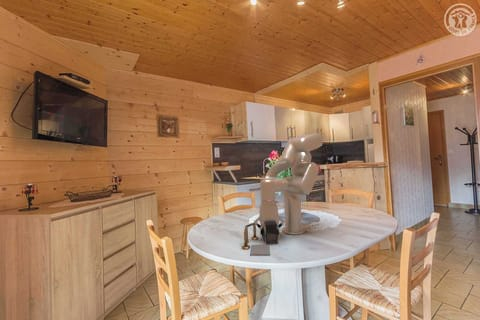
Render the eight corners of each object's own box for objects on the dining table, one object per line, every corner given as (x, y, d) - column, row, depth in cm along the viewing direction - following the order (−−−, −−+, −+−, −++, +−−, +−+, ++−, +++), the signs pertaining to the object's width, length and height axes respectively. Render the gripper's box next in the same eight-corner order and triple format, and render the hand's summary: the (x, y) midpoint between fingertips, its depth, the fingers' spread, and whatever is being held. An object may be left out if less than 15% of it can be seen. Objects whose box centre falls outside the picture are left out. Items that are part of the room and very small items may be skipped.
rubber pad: (269, 245, 113) (269, 244, 113) (270, 255, 102) (270, 254, 102) (251, 245, 114) (251, 244, 114) (250, 255, 103) (250, 254, 103)
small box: (262, 237, 125) (261, 218, 125) (273, 236, 125) (273, 217, 125) (265, 244, 114) (264, 224, 114) (278, 243, 115) (277, 223, 115)
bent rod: (259, 237, 124) (258, 221, 124) (248, 250, 109) (247, 231, 109) (251, 236, 126) (250, 220, 126) (238, 248, 111) (238, 230, 111)
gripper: (284, 200, 122) (285, 233, 123) (252, 201, 124) (253, 233, 124) (285, 203, 115) (287, 238, 115) (251, 204, 116) (253, 239, 117)
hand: (269, 236), depth 120 cm, fingers closed on small box, 7 cm apart
